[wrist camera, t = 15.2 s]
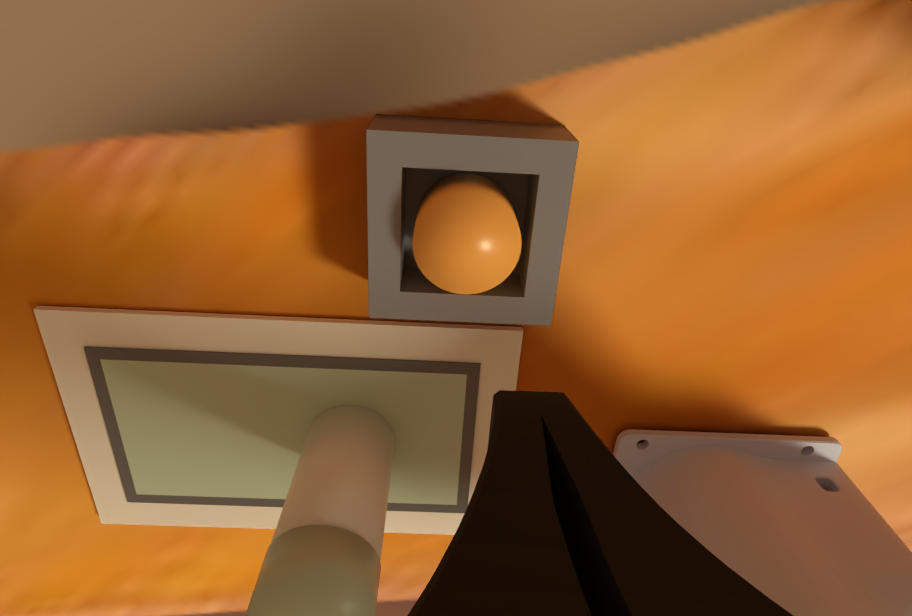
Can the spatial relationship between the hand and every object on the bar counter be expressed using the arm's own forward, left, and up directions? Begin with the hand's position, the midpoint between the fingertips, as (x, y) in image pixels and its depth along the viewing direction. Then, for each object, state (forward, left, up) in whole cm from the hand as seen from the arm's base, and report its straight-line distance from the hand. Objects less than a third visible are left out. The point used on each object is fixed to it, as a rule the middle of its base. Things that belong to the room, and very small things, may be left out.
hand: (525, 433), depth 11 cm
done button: (+1, -1, -9) cm, 9 cm away
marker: (+5, +9, -10) cm, 14 cm away
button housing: (+1, -1, -10) cm, 10 cm away
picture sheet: (+8, +9, -10) cm, 16 cm away
